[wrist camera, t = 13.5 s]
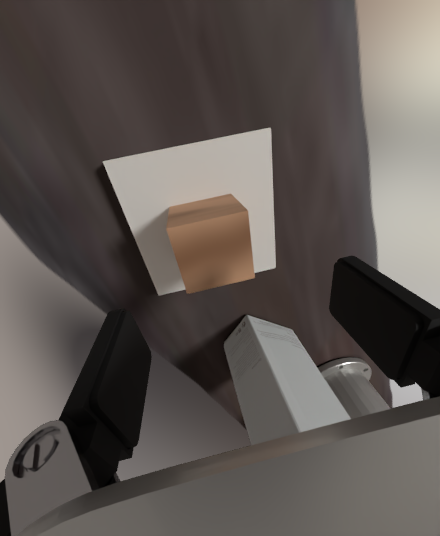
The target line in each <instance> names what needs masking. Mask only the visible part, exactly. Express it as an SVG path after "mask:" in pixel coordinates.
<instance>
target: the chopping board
mask: <svg viewBox="0 0 440 536" xmlns="http://www.w3.org/2000/svg"><path fill="white" fill-rule="evenodd" d="M103 164H104V166H105V169H106V171H107V174H108V176H109V178H110V181H111V183H112V186H113V188H114V190H115V193H116V195H117V197H118V200H119V202H120V205H121V207H122V209H123V212H124V214H125V217H126V219H127V221H128V224H129V226H130V229H131V231H132V233H133V236H134V238H135V240H136V243H137V245H138V248H139V250H140V252H141V255H142V257H143V260H144V262H145V264H146V267H147V269H148V272H149V274H150V276H151V279H152V281H153V283H154V286H155V288H156V291H157V293H158V295H159V296H160V295H164V294H168V293H172V292H176V291H181V290H185V285H184V282H183V279H182V276H181V273H180V270H179V267H178V264H177V261H176V258H175V255H174V252H173V249H172V245H171V242H170V239H169V236H168V233H167V230H166V226H167V220H168V213H169V207H171V206H176V205H180V204H185V203H190V202H194V201H199V200H203V199H208V198H213V197H217V196H222V195H226V194H232V195H233V196H234V197H235V198H236V199H237V200H238V201H239V202H240V203H241V204H242V205H243V206H244V207H245V208H246V209H247V210H248V215H249V225H250V235H251V245H252V255H253V265H254V273H256V272H261V271H265V270H269V269H273V268H276V260H275V231H274V203H273V174H272V145H271V128H265V129H260V130H255V131H250V132H245V133H240V134H235V135H230V136H225V137H220V138H216V139H211V140H206V141H201V142H196V143H191V144H186V145H181V146H176V147H171V148H166V149H161V150H156V151H151V152H146V153H141V154H136V155H131V156H126V157H121V158H117V159H112V160H107V161H103Z"/></svg>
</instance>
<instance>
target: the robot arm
mask: <svg viewBox="0 0 440 536" xmlns="http://www.w3.org/2000/svg"><path fill="white" fill-rule="evenodd" d="M329 309H330V312H331V314H332V316H333V317H334V318H335V319H336V320H337V321H338V322H339V323H340V324H341V326H342V327H343V328H344V329H345V330H346V331H347V332H348V333H349V335H350V336H351V337H352V338H353V339H354V340H355V341H356V342H357V344H358V345H359V346H360V347H361V348H362V349H363V350H364V351H365V353H366V354H367V355H368V356H369V357H370V358H371V359H372V360H373V361H374V363H375V364H376V365H377V366H378V367H379V368H380V369H381V370H382V372H383V373H384V374H385V375H386V376H387V377H388V378H390V379H392V380H394V381H395V382H396V383H397V384H398V385H399V386H400V387H405V386H409V385H413V384H415V382H416V383H417V384H418V385H419V386H420V387H421V389H422V395H423V401H419V402H415V403H411V404H407V405H403V406H399V407H395V408H392V409H390V407H389V406H388V405H387V404H386V402H385V401H384V400H383V399H382V397H381V396H380V395H379V394H378V392H377V391H376V390H375V389H374V387H373V386H372V385H371V383H370V382H369V379H370V377H371V368H370V367H369V366H368V364H367V363H366V362H365V361H364V360H362V359H359V358H351V357H348V358H341V359H337V360H334V361H331V362H328V363H326V364H324V365H322V366H320V367H318V370H319V371H320V373H321V374H322V376H323V377H324V379H325V380H326V382H327V383H328V385H329V386H330V388H331V389H332V391H333V392H334V394H335V395H336V397H337V398H338V400H339V401H340V403H341V404H342V406H343V407H344V409H345V411H346V412H347V414H348V415H349V417H350V418H351V419H349V420H345V421H341V422H338V423H334V424H330V425H326V426H322V427H319V428H315V429H311V430H307V431H303V432H300V433H296V434H292V435H288V436H284V437H281V438H277V439H273V440H269V441H266V442H262V443H258V444H254V445H251V446H247V447H243V448H239V449H236V450H232V451H229V452H225V453H221V454H217V455H213V456H210V457H206V458H203V459H199V460H195V461H191V462H188V463H184V464H180V465H176V466H173V467H169V468H166V469H162V470H159V471H155V472H152V473H149V474H145V475H142V476H138V477H135V478H131V479H128V480H124V481H120V479H119V478H118V476H117V474H116V471H117V468H118V463H119V461H121V460H125V459H128V458H132V453H133V447H135V446H137V444H138V440H139V434H140V429H141V422H142V416H143V409H144V403H145V396H146V390H147V384H148V376H149V371H150V365H151V351H150V349H149V347H148V345H147V343H146V341H145V339H144V337H143V335H142V334H141V332H140V330H139V328H138V326H137V324H136V322H135V320H134V318H133V316H132V314H131V313H130V311H126V310H125V309H119V310H115V311H110V312H109V313H108V314H107V317H106V319H105V321H104V323H103V325H102V328H101V330H100V332H99V334H98V336H97V338H96V341H95V342H94V345H93V347H92V349H91V351H90V354H89V356H88V358H87V360H86V362H85V364H84V366H83V368H82V371H81V373H80V375H79V377H78V379H77V381H76V384H75V386H74V388H73V390H72V392H71V394H70V396H69V399H68V401H67V403H66V405H65V407H64V409H63V411H62V414H61V416H60V418H59V420H56V421H50V422H47V423H45V424H43V425H41V426H40V427H38V428H37V429H35V430H34V431H33V432H31V433H30V434H29V435H28V436H27V437H26V438H25V439H24V440H23V441H22V442H21V444H20V445H19V446H18V447H17V448H16V450H15V451H14V453H13V454H12V456H11V458H10V459H9V462H8V465H7V467H6V471H5V479H4V480H3V481H2V482H1V483H0V536H440V309H438V308H436V307H435V306H433V305H431V304H430V303H428V302H427V301H425V300H423V299H422V298H420V297H419V296H417V295H416V294H414V293H412V292H411V291H409V290H408V289H406V288H404V287H403V286H401V285H400V284H398V283H396V282H395V281H393V280H392V279H390V278H389V277H387V276H385V275H384V274H382V273H381V272H379V271H377V270H376V269H374V268H373V267H371V266H369V265H368V264H366V263H365V262H363V261H361V260H360V259H358V258H357V257H355V256H348V257H344V258H340V259H338V261H337V262H336V263H335V265H334V271H333V280H332V288H331V297H330V305H329Z"/></svg>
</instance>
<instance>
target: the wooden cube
mask: <svg viewBox="0 0 440 536" xmlns="http://www.w3.org/2000/svg"><path fill="white" fill-rule="evenodd" d="M166 230H167V233H168V236H169V239H170V242H171V245H172V249H173V252H174V255H175V258H176V261H177V264H178V267H179V270H180V273H181V276H182V279H183V282H184V285H185V289H186V292H187V294H189V293H194V292H198V291H202V290H206V289H210V288H215V287H219V286H223V285H227V284H231V283H235V282H240V281H244V280H248V279H252V278H255V274H254V265H253V255H252V245H251V235H250V225H249V215H248V210H247V209H246V208H245V207H244V206H243V205H242V204H241V203H240V202H239V201H238V200H237V199H236V198H235V197H234V196H233V195H232V194H226V195H222V196H217V197H213V198H208V199H203V200H199V201H194V202H190V203H185V204H180V205H176V206H171V207H169V213H168V220H167V226H166Z"/></svg>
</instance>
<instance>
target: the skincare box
mask: <svg viewBox="0 0 440 536" xmlns="http://www.w3.org/2000/svg"><path fill="white" fill-rule="evenodd" d="M224 350H225V353H226V357H227V361H228V364H229V368H230V372H231V375H232V379H233V382H234V386H235V390H236V393H237V397H238V401H239V404H240V407H241V411H242V415H243V419H244V422H245V426H246V429H247V433H248V436H249V440H250V443H251V445H254V444H258V443H262V442H266V441H269V440H273V439H277V438H281V437H284V436H288V435H292V434H296V433H300V432H303V431H307V430H311V429H315V428H319V427H322V426H326V425H330V424H334V423H338V422H341V421H345V420H349V419H351V418H350V417H349V415H348V414H347V412H346V411H345V409H344V407H343V406H342V404H341V403H340V401H339V400H338V398H337V397H336V395H335V394H334V392H333V391H332V389H331V388H330V386H329V385H328V383H327V382H326V380H325V379H324V377H323V376H322V374H321V373H320V371H319V370H318V368H317V367H316V365H315V364H314V362H313V361H312V359H311V358H310V356H309V355H308V353H307V352H306V350H305V349H304V347H303V346H302V344H301V342H300V341H299V339H298V338H297V336H296V335H295V333H294V332H293V330H292V329H289V328H286V327H283V326H280V325H277V324H274V323H271V322H268V321H265V320H262V319H258V318H255V317H252V316H250V315H246V316H245V317H244V318H243V320H242V321H241V322H240V324H239V325H238V326H237V327H236V329H235V330H234V331H233V332H232V333H231V335H230V336H229V337H228V338H227V340H226V341H225V342H224Z"/></svg>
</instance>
